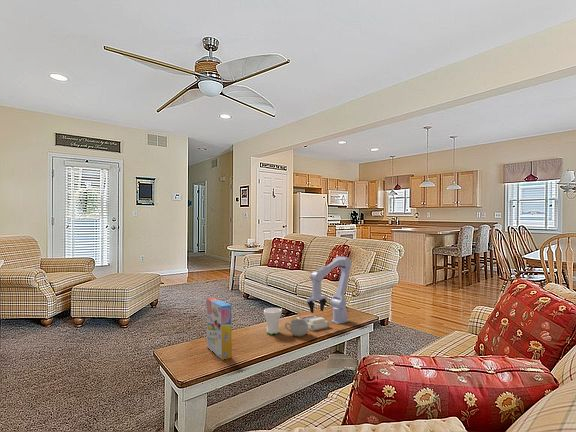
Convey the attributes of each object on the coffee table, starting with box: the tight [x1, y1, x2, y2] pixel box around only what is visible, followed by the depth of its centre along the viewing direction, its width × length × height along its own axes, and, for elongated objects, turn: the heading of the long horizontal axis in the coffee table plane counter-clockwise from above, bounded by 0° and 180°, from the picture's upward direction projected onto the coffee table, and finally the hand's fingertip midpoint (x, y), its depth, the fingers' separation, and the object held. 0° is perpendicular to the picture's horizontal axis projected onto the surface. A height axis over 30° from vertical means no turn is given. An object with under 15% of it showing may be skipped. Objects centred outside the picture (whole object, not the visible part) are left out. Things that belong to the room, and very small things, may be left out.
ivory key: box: [309, 316, 326, 325], centre depth 214 cm, size 10×4×2 cm, turn 120°
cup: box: [263, 307, 283, 336], centre depth 205 cm, size 11×11×14 cm
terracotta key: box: [298, 313, 315, 319], centre depth 224 cm, size 10×4×2 cm, turn 120°
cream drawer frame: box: [295, 315, 330, 332], centre depth 219 cm, size 13×20×4 cm, turn 30°
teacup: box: [284, 318, 309, 338], centre depth 201 cm, size 14×11×8 cm
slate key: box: [304, 315, 320, 322], centre depth 219 cm, size 10×4×2 cm, turn 120°
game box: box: [205, 297, 233, 361], centre depth 176 cm, size 21×6×27 cm, turn 35°
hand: (316, 311), depth 214 cm, fingers open, 7 cm apart
